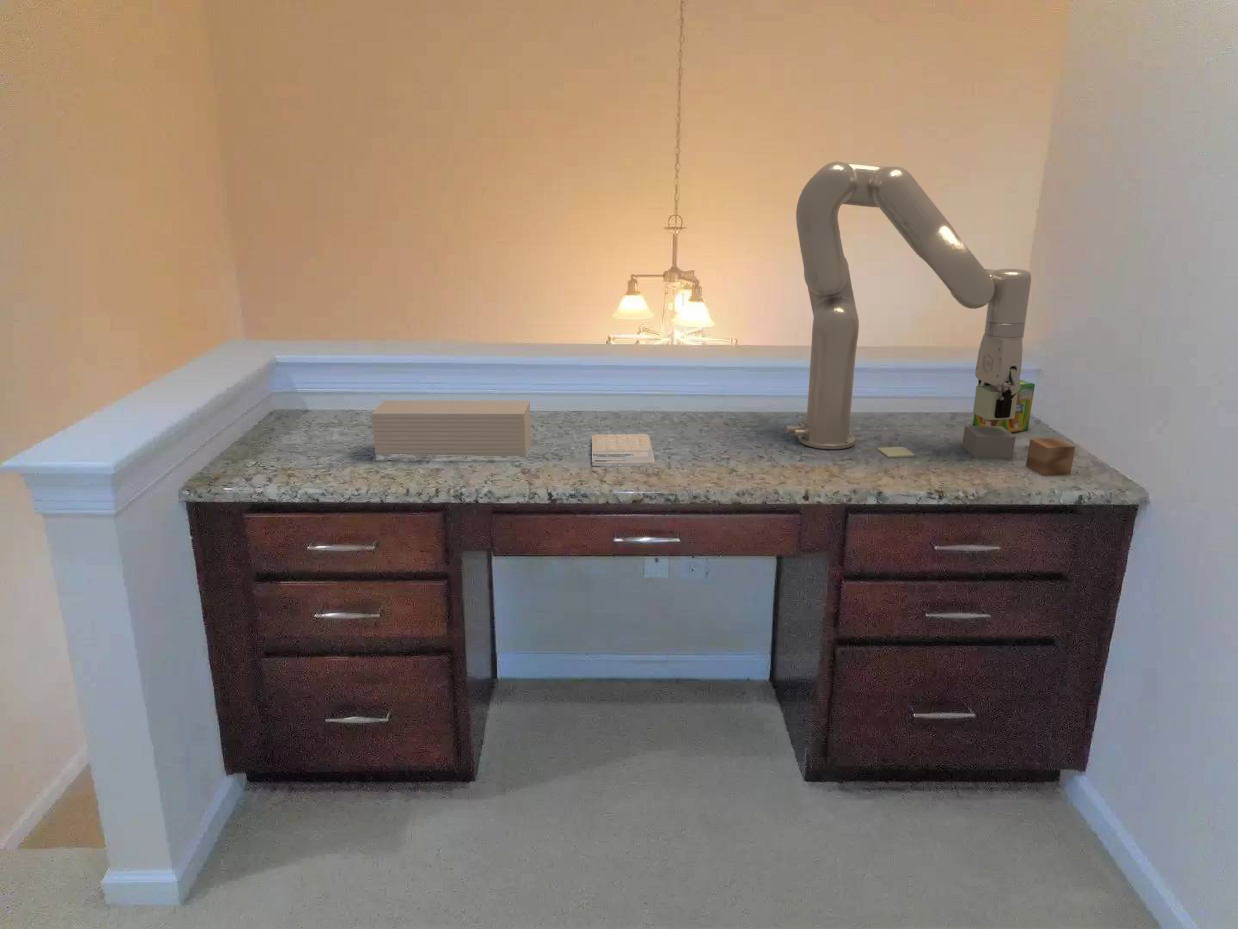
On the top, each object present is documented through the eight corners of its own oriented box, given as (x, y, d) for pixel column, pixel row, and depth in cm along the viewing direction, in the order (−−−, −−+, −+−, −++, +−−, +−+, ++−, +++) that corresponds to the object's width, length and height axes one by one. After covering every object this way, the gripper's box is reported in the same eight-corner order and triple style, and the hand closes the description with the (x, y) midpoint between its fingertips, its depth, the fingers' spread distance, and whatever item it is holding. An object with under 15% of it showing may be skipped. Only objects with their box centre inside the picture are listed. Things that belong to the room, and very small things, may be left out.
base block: (974, 458, 185) (977, 436, 183) (962, 447, 192) (964, 425, 191) (1012, 459, 184) (1015, 436, 183) (998, 447, 192) (1001, 426, 190)
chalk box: (1002, 435, 200) (1011, 373, 195) (970, 426, 208) (979, 365, 203) (1029, 430, 204) (1039, 369, 199) (997, 421, 212) (1006, 361, 207)
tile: (888, 457, 185) (888, 456, 184) (876, 449, 190) (877, 447, 190) (914, 456, 185) (915, 455, 185) (902, 448, 191) (902, 446, 191)
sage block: (987, 420, 182) (991, 392, 181) (973, 412, 188) (976, 385, 186) (1014, 418, 183) (1018, 391, 181) (998, 411, 189) (1002, 384, 187)
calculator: (649, 440, 199) (649, 432, 198) (655, 468, 180) (655, 460, 179) (591, 441, 198) (591, 433, 198) (591, 469, 180) (591, 460, 179)
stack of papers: (376, 462, 184) (371, 413, 180) (389, 447, 194) (384, 400, 190) (526, 462, 183) (524, 413, 180) (531, 447, 193) (529, 400, 190)
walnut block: (1042, 476, 174) (1047, 447, 172) (1025, 466, 179) (1030, 439, 177) (1070, 474, 174) (1075, 446, 172) (1052, 465, 180) (1057, 437, 178)
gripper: (966, 323, 187) (956, 404, 193) (1010, 337, 171) (998, 425, 177) (998, 322, 188) (988, 402, 194) (1045, 336, 172) (1033, 423, 178)
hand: (993, 412), depth 185 cm, fingers closed on sage block, 6 cm apart
